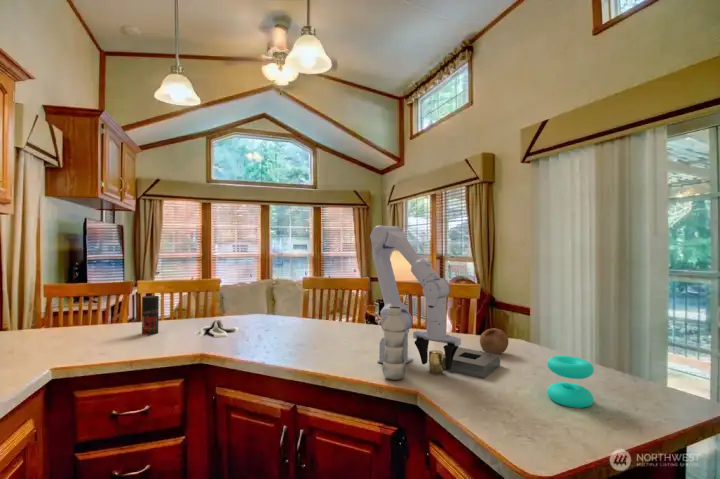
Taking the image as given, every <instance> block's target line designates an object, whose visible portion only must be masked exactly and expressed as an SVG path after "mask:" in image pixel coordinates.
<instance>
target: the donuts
mask: <svg viewBox="0 0 720 479" xmlns="http://www.w3.org/2000/svg"><path fill="white" fill-rule="evenodd" d="M546 363H547V364H546V365H547V367H548V369H549V370H550V371H551V373H553V374H555V375H557V376H560V377H563V378H567V379H570V380H571V379H572V380H584V379H588V378H590V377H591V376H592V375H593V374H594V370H595V369H594V366H593V364H592V363H591V362H590V361H588V360H586V359H584V358H581V357H576V356H569V355H556V356H555V355H554V356H551V357H550V358H549V359H548V360H547V362H546ZM546 393H547V396H548V398H550V400H551V401H553V402H555V403H557V404H558V405H561V406H563V407H569V408H570V407H571V408H577V409H578V408H579V409H580V408H582V409H583V408H587V407H590V406H591V405H592V404H593V403H594V396H593V394H592V392H591V391H590V390H589V389H587V388H585V387H584V386H583V385H579V384H577V383H573V382H567V381H566V382H565V381H562V382H561V381H558V382H554V383H552V384H550V385H548V387H547V390H546Z"/></svg>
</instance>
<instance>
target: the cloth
mask: <svg viewBox="0 0 720 479" xmlns="http://www.w3.org/2000/svg"><path fill="white" fill-rule="evenodd" d="M238 332H239V327H237V326H234V327H224V324H223V323H222V320H221V319H219V318H216V319H214V320H213V321H212V323H211V324H210V325H206V326H203V327H202V328H200V330H198V331H196V332H195V333H194V335H197V336H196V338H203V337H205V335H206V334H207V335H213V338H225V337H227V338H228V337H229V335H228V333H235V334H237V333H238Z"/></svg>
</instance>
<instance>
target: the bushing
mask: <svg viewBox="0 0 720 479" xmlns="http://www.w3.org/2000/svg"><path fill="white" fill-rule="evenodd" d="M443 354H444V352H443V351H442V350H429V351H428V359H429V360H428V373H429V374H431V375H436V376H439V375H440V376H441V375H443V374H444V373H443V372H444V369H443Z"/></svg>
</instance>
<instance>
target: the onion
mask: <svg viewBox="0 0 720 479" xmlns="http://www.w3.org/2000/svg"><path fill="white" fill-rule="evenodd" d="M479 345H480V347H481V349H482V352H488V353H493V354H498V355H501V354H502V353H504V352H505V351H506V350H507V349H508V346H509V338H508V335H507V334H506V332H505V331H503V330H502V329H500V328H497V327H496V328H494V327H493V328H488V329H486V330H484V331H483V332H482V333H481V335H480V337H479Z"/></svg>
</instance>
